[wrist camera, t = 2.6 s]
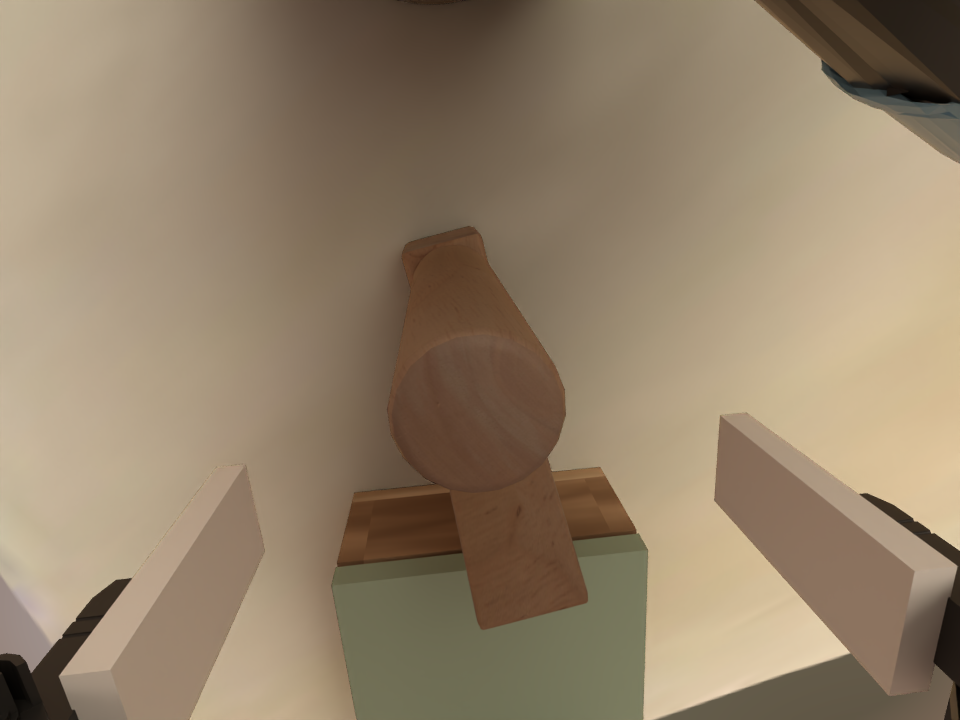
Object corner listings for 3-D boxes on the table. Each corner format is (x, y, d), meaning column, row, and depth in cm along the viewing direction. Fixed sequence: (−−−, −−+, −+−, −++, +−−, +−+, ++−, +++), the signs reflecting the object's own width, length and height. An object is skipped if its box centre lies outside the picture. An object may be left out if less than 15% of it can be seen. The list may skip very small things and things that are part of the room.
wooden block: (459, 435, 31) (492, 756, 14) (402, 242, 27) (352, 350, 10) (523, 417, 31) (637, 718, 14) (475, 223, 27) (547, 299, 10)
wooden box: (354, 492, 31) (337, 562, 26) (600, 467, 32) (636, 529, 26) (389, 707, 36) (381, 805, 31) (600, 680, 37) (631, 771, 31)
